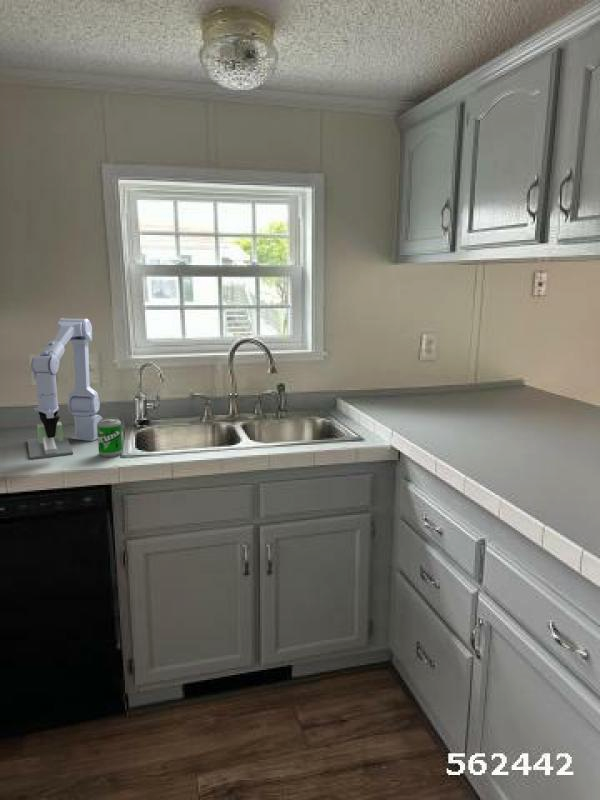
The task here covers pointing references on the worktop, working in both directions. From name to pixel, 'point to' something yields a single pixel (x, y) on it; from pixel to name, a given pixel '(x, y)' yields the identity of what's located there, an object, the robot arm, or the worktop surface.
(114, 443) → the soda can
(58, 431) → the module
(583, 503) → the worktop surface
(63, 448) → the board
